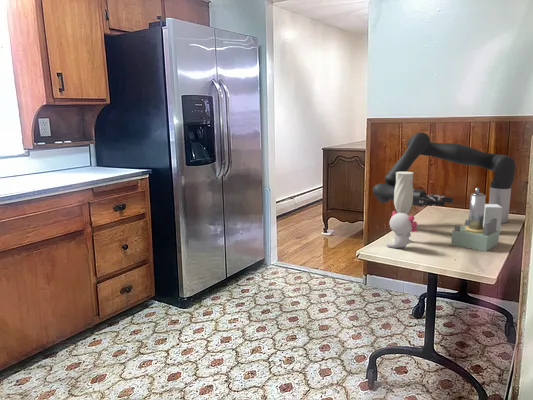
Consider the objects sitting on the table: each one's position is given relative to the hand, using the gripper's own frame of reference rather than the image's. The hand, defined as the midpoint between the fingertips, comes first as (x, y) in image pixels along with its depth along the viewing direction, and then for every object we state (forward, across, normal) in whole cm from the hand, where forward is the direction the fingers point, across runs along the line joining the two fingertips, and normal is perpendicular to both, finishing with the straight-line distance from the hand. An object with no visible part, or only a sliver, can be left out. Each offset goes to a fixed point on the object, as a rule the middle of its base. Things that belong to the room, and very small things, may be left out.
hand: (448, 202), depth 192 cm
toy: (-8, -26, +17) cm, 32 cm away
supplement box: (+10, +23, +17) cm, 30 cm away
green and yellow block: (+12, 0, +16) cm, 20 cm away
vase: (-13, -16, +17) cm, 26 cm away
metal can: (+12, 0, +10) cm, 15 cm away
